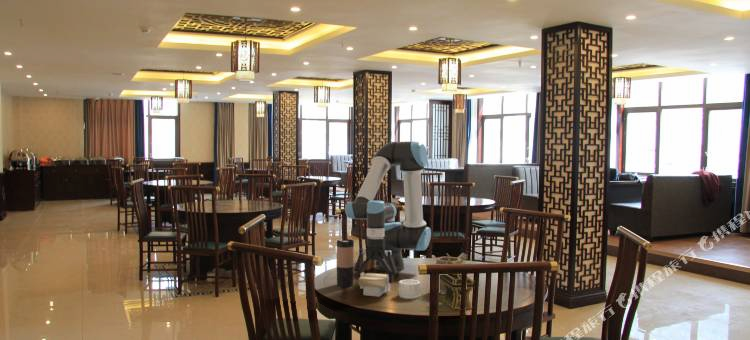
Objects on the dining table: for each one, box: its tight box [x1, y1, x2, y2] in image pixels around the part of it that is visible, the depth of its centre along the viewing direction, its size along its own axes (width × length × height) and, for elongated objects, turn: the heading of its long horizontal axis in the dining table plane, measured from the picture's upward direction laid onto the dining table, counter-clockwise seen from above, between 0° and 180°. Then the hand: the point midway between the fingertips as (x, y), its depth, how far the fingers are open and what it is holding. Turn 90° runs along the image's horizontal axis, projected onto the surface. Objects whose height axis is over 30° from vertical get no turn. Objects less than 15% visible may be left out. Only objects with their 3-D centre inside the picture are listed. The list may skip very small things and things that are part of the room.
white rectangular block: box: [363, 286, 388, 298], centre depth 238 cm, size 10×7×4 cm
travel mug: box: [336, 238, 355, 288], centre depth 251 cm, size 8×8×20 cm
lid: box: [358, 272, 388, 288], centre depth 238 cm, size 11×11×3 cm
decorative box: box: [440, 252, 474, 310], centre depth 222 cm, size 20×10×20 cm, turn 13°
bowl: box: [398, 278, 421, 300], centre depth 233 cm, size 9×9×6 cm
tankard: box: [435, 252, 468, 294], centre depth 244 cm, size 20×13×15 cm, turn 136°
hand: (375, 289), depth 238 cm, fingers closed on lid, 11 cm apart
